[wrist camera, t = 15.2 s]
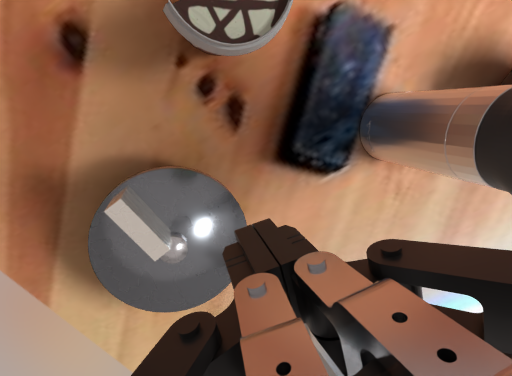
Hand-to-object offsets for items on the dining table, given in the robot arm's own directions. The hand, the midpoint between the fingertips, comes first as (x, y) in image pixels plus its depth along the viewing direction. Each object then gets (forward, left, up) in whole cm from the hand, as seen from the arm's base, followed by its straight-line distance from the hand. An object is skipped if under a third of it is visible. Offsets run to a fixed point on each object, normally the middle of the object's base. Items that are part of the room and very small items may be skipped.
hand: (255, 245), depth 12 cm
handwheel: (+6, +8, -24) cm, 26 cm away
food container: (-7, -12, -27) cm, 31 cm away
